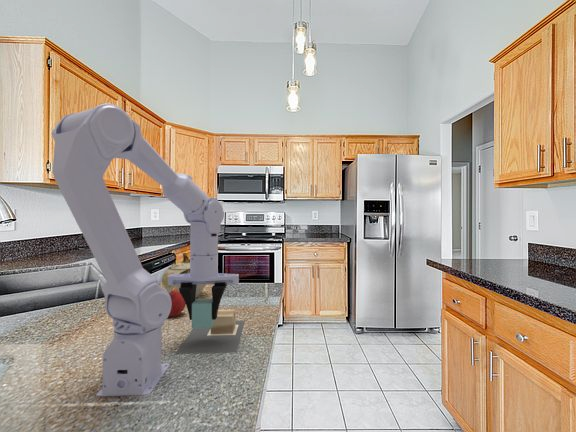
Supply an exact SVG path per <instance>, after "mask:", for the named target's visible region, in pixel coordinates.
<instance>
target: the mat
mask: <svg viewBox="0 0 576 432" xmlns="http://www.w3.org/2000/svg"><path fill="white" fill-rule="evenodd" d="M245 322H246V321H245V320H235V329H234V332H233V334H211V328H191V330H190V332H189V333H188V335H187V336H186V338H185V339H184V340H183V342H182V343H181V344H180V346H179V348H178V349H177V350H176V352H175V354H174V355H180V354H181V355H182V354H183V355H184V354H185V355H188V354H190V355H191V354H222V353H223V354H224V353H225V354H227V353H230V354H231V353H237V352H238V349H239V345H240V341H241V337H242V334H243V333H242V332H243V330H244V325H245Z"/></svg>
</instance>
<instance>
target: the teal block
mask: <svg viewBox="0 0 576 432" xmlns="http://www.w3.org/2000/svg"><path fill="white" fill-rule="evenodd" d="M212 307H213V302H212V298H195V301H194V302H193V303H192V320H191V329H193V328H211V327H212V326H213V324H214V322H215V320H212Z"/></svg>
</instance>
